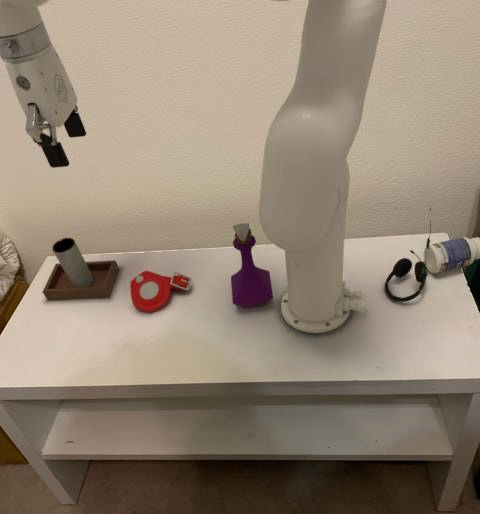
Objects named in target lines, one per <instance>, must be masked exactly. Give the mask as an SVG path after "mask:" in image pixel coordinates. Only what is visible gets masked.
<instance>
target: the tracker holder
mask: <svg viewBox="0 0 480 514" xmlns="http://www.w3.org/2000/svg"><path fill="white" fill-rule="evenodd" d="M192 280H193V277H190V276H188V275H185V274H182V273H181V272H177V271H173V274H172V276H166V275H161V274H159V273H156V272H153V271H151V270H143V271H142V272H141V273H139V274H138V275H136V276H135V277H134V278H132V279H131V280H130V283H129V284H130V285H129V287H130V288H129V289H130V298H131V301H132V304H133V306H134V307H135V308H136V309H137V310H138V311H141V312H144V313H153V312H156V311H158V310H161V309H162V308H163V307H164V306H165V305H166V304H167V303H168V301H169V299H170V297H171V292H172V291H186V292H188V291H189V289H190V286H191V283H192Z"/></svg>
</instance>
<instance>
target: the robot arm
mask: <svg viewBox="0 0 480 514" xmlns="http://www.w3.org/2000/svg"><path fill="white" fill-rule="evenodd" d="M272 1H274V2H289V1H291V0H272ZM49 2H51V0H0V60H1V61H2V62H4V64H5V68H6V70H7V74H8V76H9V77H8V78H9V79H10V82H11V86H12V88H13V91H14V93H15V95H16V98H17V100H18V103H19V105H20V107H21V109H22V111H23V113H24V115H25V117H26V121H25V132H26V133H27V134H28V135H29V137H31V139H32V141H33V143H35V144H37V146H38V147H39V148H41V150H42V152H43V154H44V156H45V158H46V160H47V162H48V164H49V167H50V168H53V169H54V168H66V167H67V168H68V167H69V165H70V161H69V158H68V156H67V154H66V151H65V149H64V147H63V145H62V142H61V141H58V136H57V128H61V127H63V126H64V129H65V131H66V133H67V136H68V137H69V138H80V137H81V138H82V137H86V135H87V131H86V129H85V126H84V123H83V120H82V118H81V115H80V114H79V107H78V104H77V103H78V96H77V94H76V91H75V89H74V86H73V84H72V81H71V79H70V77H69V75H68V72H67V71H66V67H65V65H64V63H63V61H62V59H61V58H60V55H59V53H58V52H57V50H56V48H55V46H54V45H53V43H52V41H51V37H50V36H49V33H48V30H47V27H46V25H45V23H44V20H43V18H42V15H41V12H40V10H39V7H41V6H44V5H45V4H47V3H49ZM387 4H388V0H308V3H307V8H306V11H305V16H304V21H303V26H302V33H301V42H300V50H299V57H298V64H297V69H296V74H295V79H294V83H293V86H292V88H291V90H290V92H289V94H288V95H287V97H286V98H285V100H284V101H283V104H282V105H281V107H280V108H279V110H278V111H277V113H276V114H275V115H274V118H273V120H272V121H271V124H270V126H269V129H268V131H267V135H266V140H265V144H264V149H263V156H262V157H263V158H262V171H261V179H260V190H259V200H258V201H259V202H258V218H259V224H260V226H261V227H260V228H261V229H262V231H263V234H264V235H265V237H267V239H268V240H269V241H270V242H271V243H272V244H273V245H275V246H276V247H277V248H279V249H281V250H283V251H284V258H285V269H286V270H285V271H286V283H287V284H286V285H287V290H286V291H285V293H284V295H283V296H282V299H281V301H280V302H281V303H280V311H281V315H282V318H284V321H285V322H286V323H287V324H288V325H290V326H291V327H292V328H294V329H296V330H298V331H301V332H304V333H308V334H309V333H310V334H321V333H322V334H323V333H327V332H330V331H333V330H335V329H337V328H339V327H340V326H341V325H343V324H344V323H345V322H346V321H347V319H348V317H349V315H350V313H351V310H352V311H353V310H354V311H357V312H368V309H369V307H368V306H369V300H367V299H365V300H364V299H362V296H363V291H362V290H349V288H346V281H345V280H343V279H344V256H345V255H344V253H345V233H346V232H345V231H346V218H347V217H346V216H347V215H346V214H347V207H348V199H349V191H350V179H351V177H350V167H349V164H348V161H347V158H348V155H349V153H350V151H351V148H352V145H353V143H354V141H355V139H356V137H357V134H358V132H359V129H360V126H361V123H362V118H363V112H364V106H365V99H366V95H367V91H368V86H369V83H370V78H371V74H372V71H373V66H374V63H375V58H376V53H377V48H378V43H379V40H380V35H381V30H382V25H383V21H384V17H385V13H386V7H387ZM45 122H47V123H45ZM47 130H48V132H49V135H48V134H46V133H45V132H44V131H47Z"/></svg>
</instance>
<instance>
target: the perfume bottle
mask: <svg viewBox="0 0 480 514" xmlns="http://www.w3.org/2000/svg"><path fill="white" fill-rule="evenodd" d="M250 226H251V225H250V223H249V222H245V223H244V222H243V223H238V224H233V226H232V229H233V231H234V239H233V240H232V245H233V248H234V249H236V250H237V251H239V253H240V256H241V259H240V260H241V267H240V269H239V270H238V271H237V272H236V273H234V274H232V275H231V276H230V286H231V296H232V297H231V298H232V301H231V302H232V305H234V306H237V307H240V308H243V309H248V308H255V307H263V306H266V305H267V304H268V303H270V302H271V301H272V300H273V299H274V293H273V288H272V286H273V285H272V280H271V279H272V278H271V274H270V273H271V272H270V271H269V270H267V269H264V268H260V267H257V266H256V264H255V262H254V258H253V254H252V248H254V247H255V245H256V244H257V240H256V237H255V236H254V235H253V233H252V232H253V231H252V228H250Z"/></svg>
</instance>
